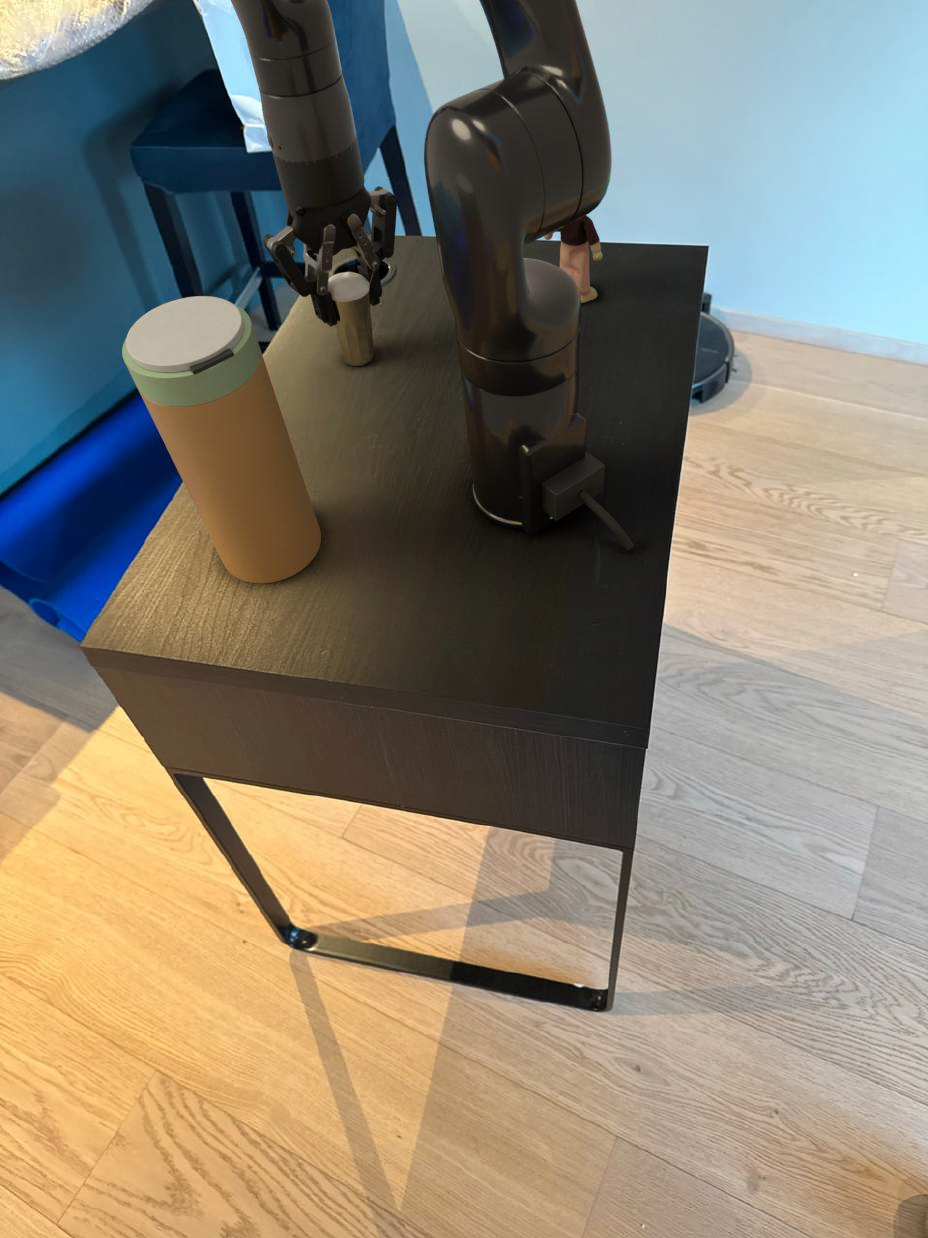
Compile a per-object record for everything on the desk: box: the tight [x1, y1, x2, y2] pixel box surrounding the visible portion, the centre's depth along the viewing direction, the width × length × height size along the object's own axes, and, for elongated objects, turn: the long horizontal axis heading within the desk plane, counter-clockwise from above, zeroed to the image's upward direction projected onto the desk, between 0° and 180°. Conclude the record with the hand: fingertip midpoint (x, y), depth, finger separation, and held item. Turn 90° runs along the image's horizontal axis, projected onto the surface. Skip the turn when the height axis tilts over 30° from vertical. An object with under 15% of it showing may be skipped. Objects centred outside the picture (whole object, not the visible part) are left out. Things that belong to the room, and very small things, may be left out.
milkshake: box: [328, 267, 375, 367], centre depth 86 cm, size 5×5×10 cm
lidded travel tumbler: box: [121, 295, 322, 584], centre depth 66 cm, size 9×9×22 cm
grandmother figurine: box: [543, 214, 604, 304], centre depth 89 cm, size 8×4×13 cm, turn 58°
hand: (351, 311), depth 86 cm, fingers closed on milkshake, 4 cm apart
